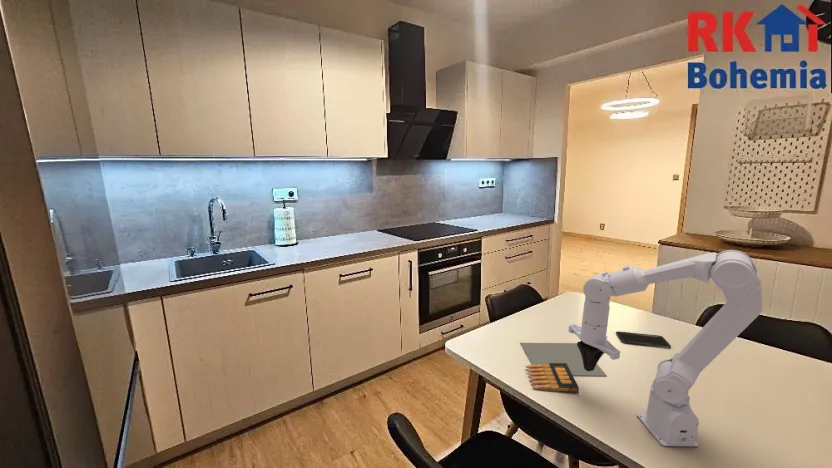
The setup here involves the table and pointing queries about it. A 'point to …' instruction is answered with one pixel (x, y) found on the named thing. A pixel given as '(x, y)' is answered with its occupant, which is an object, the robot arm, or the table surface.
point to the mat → (559, 357)
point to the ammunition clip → (553, 377)
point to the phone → (643, 340)
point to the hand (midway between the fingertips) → (588, 369)
